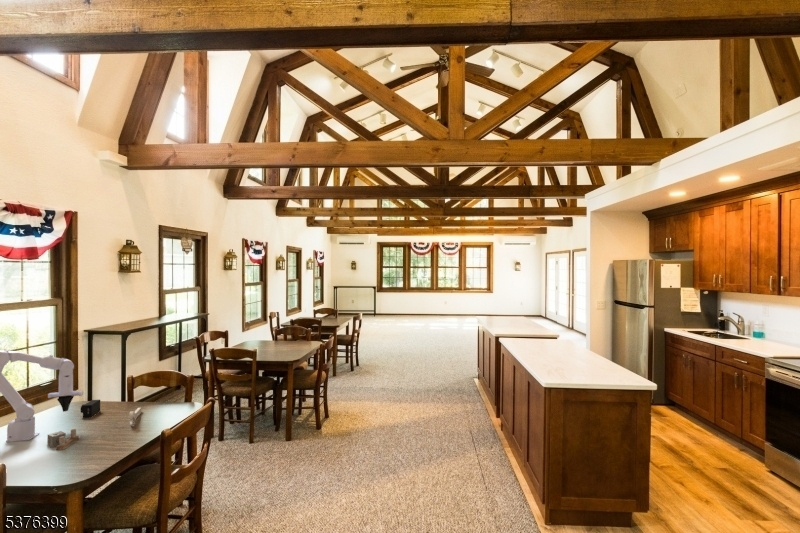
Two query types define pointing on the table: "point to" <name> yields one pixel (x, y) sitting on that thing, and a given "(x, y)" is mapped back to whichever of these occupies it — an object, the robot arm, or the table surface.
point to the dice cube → (55, 438)
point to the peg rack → (69, 441)
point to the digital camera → (90, 408)
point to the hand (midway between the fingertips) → (65, 410)
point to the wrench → (134, 416)
